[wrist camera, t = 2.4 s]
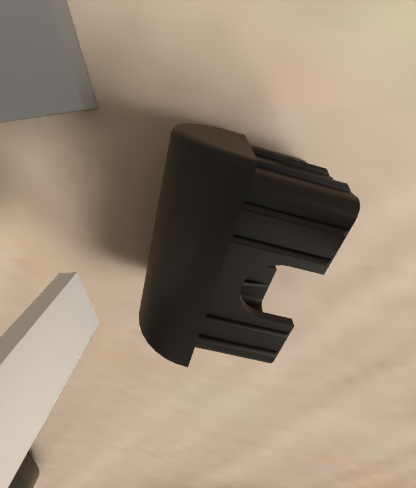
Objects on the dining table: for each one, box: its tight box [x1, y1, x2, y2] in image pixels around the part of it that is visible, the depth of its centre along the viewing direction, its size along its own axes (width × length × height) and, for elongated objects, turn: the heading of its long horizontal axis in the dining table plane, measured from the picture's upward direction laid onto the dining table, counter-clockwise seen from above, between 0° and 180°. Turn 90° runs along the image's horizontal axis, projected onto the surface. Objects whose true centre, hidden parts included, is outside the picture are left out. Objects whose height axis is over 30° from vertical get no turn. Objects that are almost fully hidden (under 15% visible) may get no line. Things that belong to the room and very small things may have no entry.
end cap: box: [139, 124, 360, 367], centre depth 13 cm, size 10×7×7 cm
